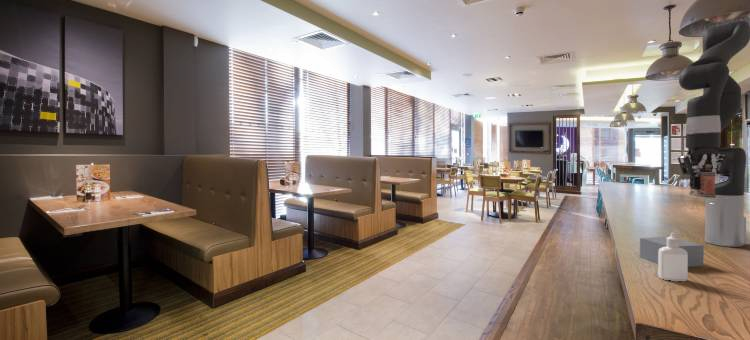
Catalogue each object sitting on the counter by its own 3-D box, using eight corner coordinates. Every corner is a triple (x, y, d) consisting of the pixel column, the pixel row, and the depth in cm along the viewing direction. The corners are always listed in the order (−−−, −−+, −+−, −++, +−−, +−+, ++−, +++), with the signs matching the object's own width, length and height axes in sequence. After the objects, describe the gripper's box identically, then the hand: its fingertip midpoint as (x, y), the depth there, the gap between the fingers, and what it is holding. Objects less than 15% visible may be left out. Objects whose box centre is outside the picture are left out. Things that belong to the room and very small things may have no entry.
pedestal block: (670, 255, 106) (670, 236, 105) (703, 266, 96) (703, 245, 95) (640, 257, 105) (640, 238, 105) (669, 267, 95) (669, 246, 95)
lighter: (719, 197, 98) (719, 163, 97) (705, 198, 98) (706, 163, 98) (698, 194, 106) (699, 162, 105) (686, 194, 106) (686, 162, 106)
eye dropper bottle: (686, 284, 83) (687, 236, 83) (657, 279, 87) (657, 233, 87) (687, 279, 86) (688, 233, 86) (659, 274, 90) (659, 230, 90)
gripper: (712, 132, 105) (711, 187, 106) (668, 133, 105) (668, 188, 105) (739, 130, 98) (738, 189, 99) (692, 131, 97) (692, 191, 98)
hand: (702, 188), depth 102 cm, fingers closed on lighter, 4 cm apart
